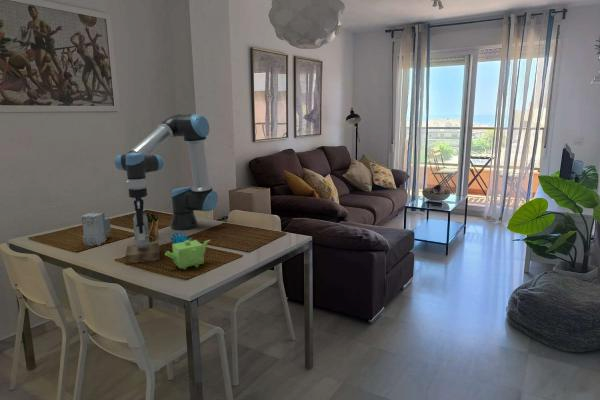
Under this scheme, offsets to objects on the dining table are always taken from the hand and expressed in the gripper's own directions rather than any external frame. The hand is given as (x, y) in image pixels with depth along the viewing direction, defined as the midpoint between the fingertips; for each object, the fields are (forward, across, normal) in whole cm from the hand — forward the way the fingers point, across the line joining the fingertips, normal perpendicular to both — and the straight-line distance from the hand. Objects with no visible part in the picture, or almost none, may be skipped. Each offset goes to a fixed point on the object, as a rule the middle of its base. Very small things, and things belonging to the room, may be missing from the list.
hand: (141, 237), depth 186 cm
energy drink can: (+4, 0, 0) cm, 4 cm away
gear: (+10, -8, +18) cm, 22 cm away
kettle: (+10, +19, +19) cm, 29 cm away
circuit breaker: (+10, -35, -22) cm, 42 cm away
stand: (+9, 0, 0) cm, 9 cm away
